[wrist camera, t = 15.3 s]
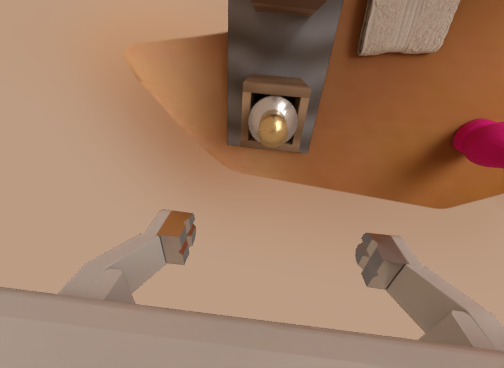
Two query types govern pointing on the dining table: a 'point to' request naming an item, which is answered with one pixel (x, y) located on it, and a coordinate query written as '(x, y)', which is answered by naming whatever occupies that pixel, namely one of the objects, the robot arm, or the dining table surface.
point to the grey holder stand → (278, 62)
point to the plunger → (273, 121)
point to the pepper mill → (481, 142)
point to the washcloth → (405, 26)
